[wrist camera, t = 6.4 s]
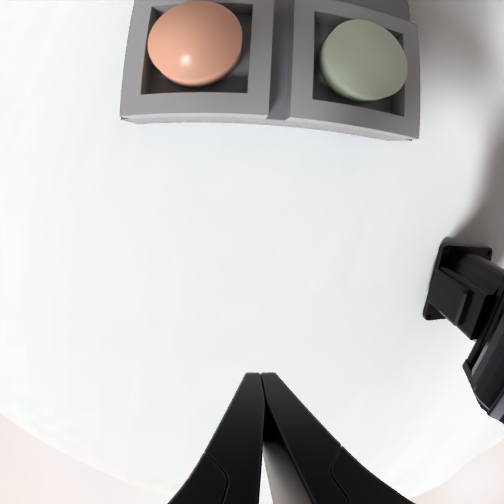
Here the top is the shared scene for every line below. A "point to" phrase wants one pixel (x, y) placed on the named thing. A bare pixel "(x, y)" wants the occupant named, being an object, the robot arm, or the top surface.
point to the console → (276, 71)
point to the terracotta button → (196, 43)
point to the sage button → (362, 61)
